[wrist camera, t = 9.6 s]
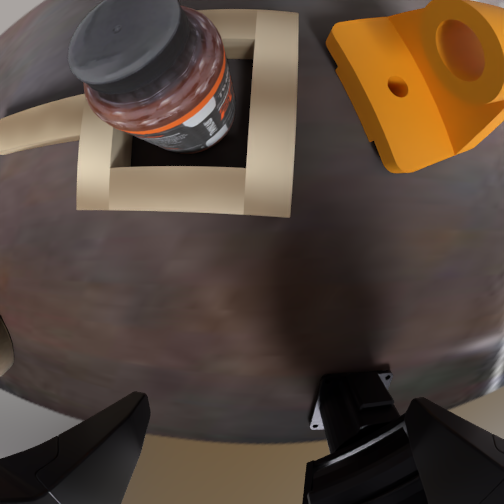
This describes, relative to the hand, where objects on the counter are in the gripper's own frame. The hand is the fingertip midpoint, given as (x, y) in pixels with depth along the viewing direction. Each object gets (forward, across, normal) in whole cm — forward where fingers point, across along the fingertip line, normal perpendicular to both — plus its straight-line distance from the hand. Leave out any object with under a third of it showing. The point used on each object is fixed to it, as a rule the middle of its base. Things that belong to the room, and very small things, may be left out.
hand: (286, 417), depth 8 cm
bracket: (+12, -8, -15) cm, 21 cm away
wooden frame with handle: (+12, +12, -12) cm, 21 cm away
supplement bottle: (+12, +6, -12) cm, 18 cm away
